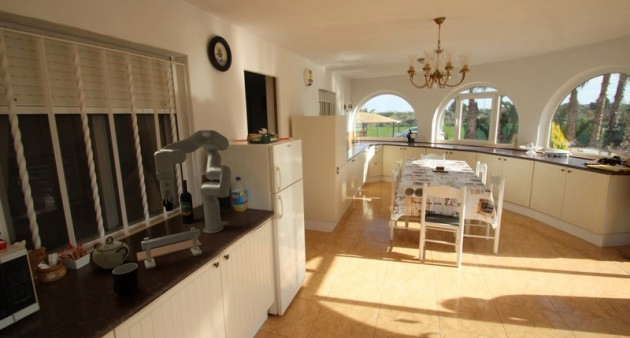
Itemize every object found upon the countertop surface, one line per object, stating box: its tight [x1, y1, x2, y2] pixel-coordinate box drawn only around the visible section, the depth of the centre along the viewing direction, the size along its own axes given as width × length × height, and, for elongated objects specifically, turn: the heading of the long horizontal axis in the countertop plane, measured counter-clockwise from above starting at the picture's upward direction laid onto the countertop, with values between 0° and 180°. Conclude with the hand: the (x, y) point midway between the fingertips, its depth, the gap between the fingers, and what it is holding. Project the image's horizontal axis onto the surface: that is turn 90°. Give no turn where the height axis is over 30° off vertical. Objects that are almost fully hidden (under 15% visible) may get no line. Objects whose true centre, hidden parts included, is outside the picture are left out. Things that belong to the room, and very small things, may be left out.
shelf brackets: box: [143, 227, 203, 270], centre depth 149 cm, size 26×8×13 cm, turn 125°
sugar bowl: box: [91, 235, 130, 270], centre depth 143 cm, size 20×15×15 cm
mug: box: [111, 262, 140, 296], centre depth 120 cm, size 12×9×10 cm
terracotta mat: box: [136, 239, 202, 263], centre depth 160 cm, size 31×10×1 cm, turn 125°
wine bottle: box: [179, 179, 195, 225], centre depth 199 cm, size 8×8×30 cm
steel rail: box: [140, 228, 201, 251], centre depth 148 cm, size 27×3×3 cm, turn 125°
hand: (167, 208), depth 147 cm, fingers open, 9 cm apart
